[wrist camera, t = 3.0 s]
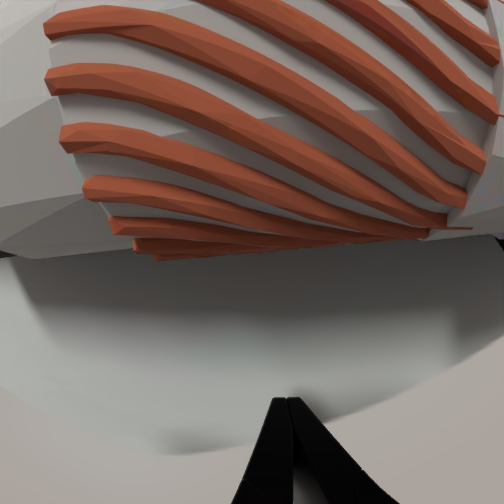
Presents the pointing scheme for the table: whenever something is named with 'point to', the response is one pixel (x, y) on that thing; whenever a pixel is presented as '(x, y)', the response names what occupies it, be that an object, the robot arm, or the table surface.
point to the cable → (248, 124)
